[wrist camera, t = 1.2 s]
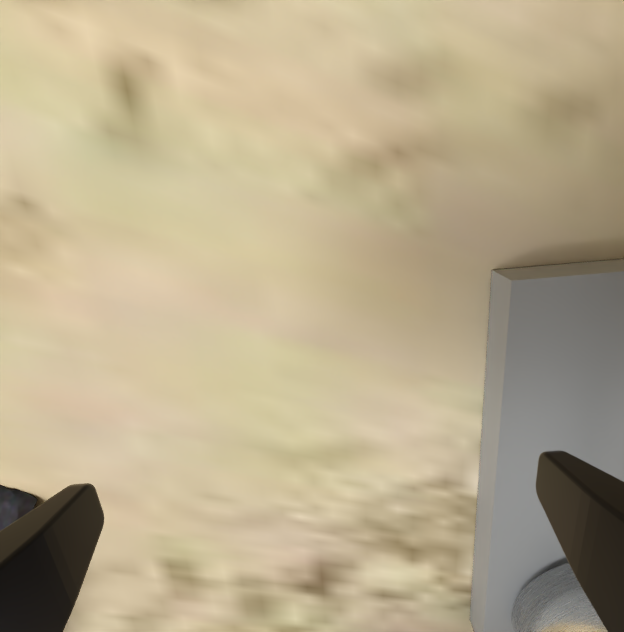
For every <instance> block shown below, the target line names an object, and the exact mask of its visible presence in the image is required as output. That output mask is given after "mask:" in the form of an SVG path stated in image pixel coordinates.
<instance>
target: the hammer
mask: <svg viewBox="0 0 624 632" xmlns="http://www.w3.org/2000/svg"><path fill="white" fill-rule="evenodd" d="M511 622H512V627H513V629H514V632H608V631H607V630H606V628H605V626H604V625H603V623H602V621H601V620H600V618H599V616H598V614H597V613H596V611H595V609H594V608H593V606H592V604H591V603H590V601H589V599H588V597H587V596H586V594H585V592H584V591H583V589H582V587H581V585H580V584H579V582H578V580H577V578H576V576H575V574H574V572H573V570H572V568H571V566H570V564H569V563H566V564H563V565H560V566H558V567H555V568H553V569H551V570H549V571H547V572H545V573H543V574H541V575H540V576H538V577H537V578H535V579H534V580H533V581H532V582H530V583H529V584H528V585H527V586H526V587H525V588H524V589H523V590H522V592H521V593H520V594H519V595H518V597H517V599H516V601H515V603H514V605H513V608H512V612H511Z"/></svg>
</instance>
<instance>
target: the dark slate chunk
mask: <svg viewBox="0 0 624 632" xmlns="http://www.w3.org/2000/svg"><path fill="white" fill-rule="evenodd" d="M36 502H37V499H36V498H35V497H33V496H32V495H30V494H28V493H26V492H23V491H20V490H16V489H9V488H6V487H4V486H2V485H0V531H1V530H3V529H4V528H6V527H7V526H9V525H10V524H12V523H13V522H15V521H16V520H18V519H19V518H21V517H22V516H24V515H25V514H27V513H28V512H30V511H32V510H33V509H35V508H34V506H35V504H36Z"/></svg>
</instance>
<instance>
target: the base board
mask: <svg viewBox="0 0 624 632" xmlns="http://www.w3.org/2000/svg"><path fill="white" fill-rule="evenodd" d="M559 450H560V451H565V452H567V453H569V454H571V455H573V456H575V457H577V458H579V459H581V460H583V461H585V462H587V463H589V464H591V465H592V466H594V467H596V468H598V469H600V470H602V471H604V472H606V473H608V474H610V475H612V476H614V477H616V478H617V479H619V480H621V481H623V482H624V259H615V260H603V261H592V262H580V263H568V264H556V265H545V266H533V267H521V268H510V269H498V270H492V276H491V292H490V308H489V324H488V340H487V355H486V371H485V387H484V403H483V419H482V434H481V450H480V466H479V482H478V498H477V513H476V529H475V545H474V561H473V577H472V592H471V608H470V621H471V624H472V627H473V630H474V632H514V629H513V627H512V622H511V612H512V608H513V605H514V603H515V601H516V599H517V597H518V595H519V594H520V593H521V592H522V590H523V589H524V588H525V587H526V586H527V585H528V584H529V583H530V582H532V581H533V580H534V579H535V578H537V577H538V576H540V575H541V574H543V573H545V572H547V571H549V570H551V569H553V568H555V567H558V566H560V565H563V564H566V563H569V562H568V560H567V558H566V556H565V554H564V552H563V550H562V547H561V545H560V543H559V541H558V539H557V537H556V535H555V533H554V530H553V528H552V526H551V524H550V522H549V520H548V518H547V516H546V513H545V511H544V509H543V507H542V505H541V503H540V501H539V499H538V496H537V493H536V476H537V468H538V460H539V456H540V454H541V453H542V452H545V451H559Z"/></svg>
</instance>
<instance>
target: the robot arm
mask: <svg viewBox="0 0 624 632" xmlns="http://www.w3.org/2000/svg"><path fill="white" fill-rule="evenodd" d="M536 493H537V496H538V499H539V501H540V503H541V505H542V507H543V509H544V511H545V513H546V516H547V518H548V520H549V522H550V524H551V526H552V528H553V530H554V533H555V535H556V537H557V539H558V541H559V543H560V545H561V547H562V550H563V552H564V554H565V556H566V558H567V560H568V562H569V564H570V566H571V568H572V570H573V572H574V574H575V576H576V578H577V580H578V582H579V584H580V585H581V587H582V589H583V591H584V592H585V594H586V596H587V597H588V599H589V601H590V603H591V604H592V606H593V608H594V609H595V611H596V613H597V614H598V616H599V618H600V620H601V621H602V623H603V625H604V626H605V628H606V630H607V631H608V632H624V482H623V481H621V480H619V479H617V478H616V477H614V476H612V475H610V474H608V473H606V472H604V471H602V470H600V469H598V468H596V467H594V466H592V465H591V464H589V463H587V462H585V461H583V460H581V459H579V458H577V457H575V456H573V455H571V454H569V453H567V452H565V451H560V450H559V451H545V452H542V453H541V454H540V456H539V460H538V468H537V476H536ZM103 524H104V513H103V510H102V507H101V504H100V501H99V498H98V495H97V492H96V489H95V487H94V486H93V485H92V484H88V483H87V484H74V485H70V486H68V487H66V488H65V489H63V490H62V491H60V492H59V493H57V494H56V495H54V496H53V497H51V498H50V499H48V500H47V501H45V502H44V503H42V504H41V505H39V506H38V507H36V508H35V509H33V510H32V511H30V512H28V513H27V514H25V515H24V516H22V517H21V518H19V519H18V520H16V521H15V522H13V523H12V524H10V525H9V526H7V527H6V528H4V529H3V530H1V531H0V632H63V630H64V628H65V625H66V623H67V621H68V619H69V616H70V614H71V612H72V610H73V607H74V605H75V602H76V600H77V597H78V595H79V592H80V589H81V586H82V584H83V581H84V578H85V575H86V572H87V570H88V567H89V564H90V561H91V559H92V556H93V553H94V550H95V547H96V545H97V542H98V539H99V536H100V534H101V531H102V528H103Z"/></svg>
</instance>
